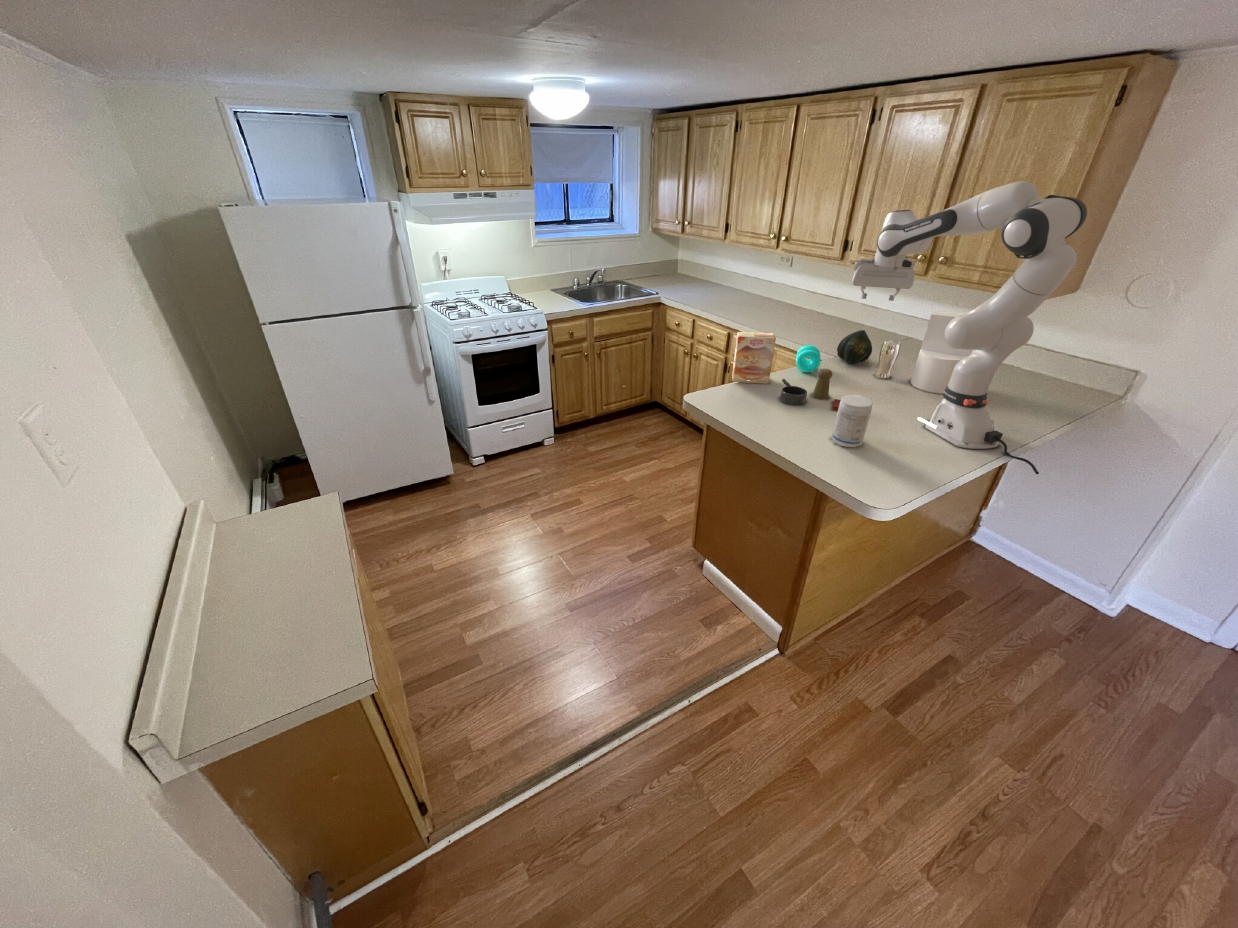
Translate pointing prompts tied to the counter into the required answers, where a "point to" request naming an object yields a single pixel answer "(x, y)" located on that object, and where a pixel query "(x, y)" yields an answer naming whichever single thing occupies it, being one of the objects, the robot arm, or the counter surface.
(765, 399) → the counter surface
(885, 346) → the beer glass
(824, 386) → the olive tall rounded piece
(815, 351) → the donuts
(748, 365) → the coffeecake box
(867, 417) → the supplement tub
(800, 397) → the pan
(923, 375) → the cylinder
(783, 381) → the pan handle
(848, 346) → the squash
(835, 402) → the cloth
